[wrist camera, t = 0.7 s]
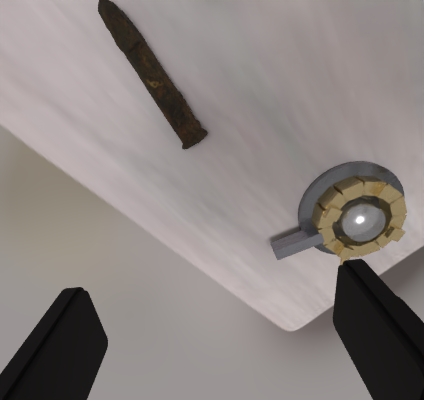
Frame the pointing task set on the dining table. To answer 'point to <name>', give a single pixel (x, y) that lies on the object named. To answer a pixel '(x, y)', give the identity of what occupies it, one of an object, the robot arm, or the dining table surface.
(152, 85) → the hand tool
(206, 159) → the dining table surface
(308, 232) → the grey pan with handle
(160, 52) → the dining table surface
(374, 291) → the robot arm
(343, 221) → the housing
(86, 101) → the dining table surface
